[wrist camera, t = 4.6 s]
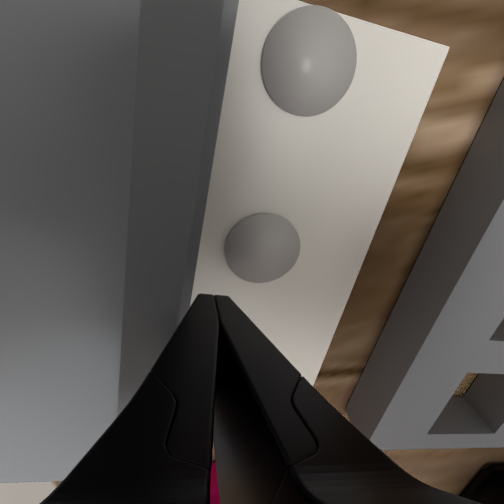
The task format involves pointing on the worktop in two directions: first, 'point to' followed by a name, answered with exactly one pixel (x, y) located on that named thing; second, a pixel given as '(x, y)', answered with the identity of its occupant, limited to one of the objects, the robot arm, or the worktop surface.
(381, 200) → the plate
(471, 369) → the hole board
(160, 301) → the cover
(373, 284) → the worktop surface
